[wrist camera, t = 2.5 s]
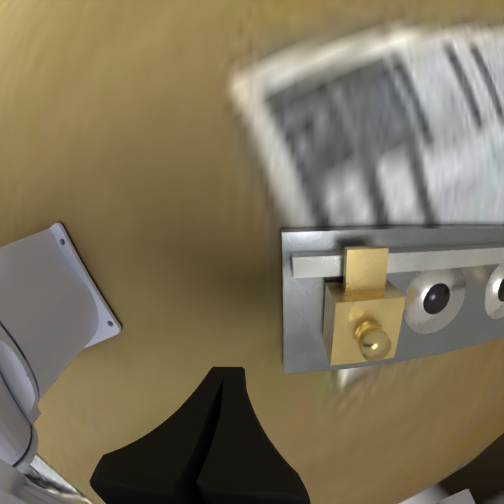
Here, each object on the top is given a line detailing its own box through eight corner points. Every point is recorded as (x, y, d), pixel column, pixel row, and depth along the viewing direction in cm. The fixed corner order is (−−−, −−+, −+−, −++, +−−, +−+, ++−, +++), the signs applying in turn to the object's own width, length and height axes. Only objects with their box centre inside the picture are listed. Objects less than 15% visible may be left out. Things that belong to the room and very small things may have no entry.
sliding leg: (322, 339, 18) (335, 383, 14) (326, 242, 16) (346, 268, 12) (379, 334, 18) (403, 373, 14) (390, 240, 16) (425, 263, 12)
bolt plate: (282, 363, 21) (288, 435, 14) (280, 228, 18) (290, 264, 11) (504, 328, 20) (545, 365, 13) (525, 225, 17) (580, 246, 10)
